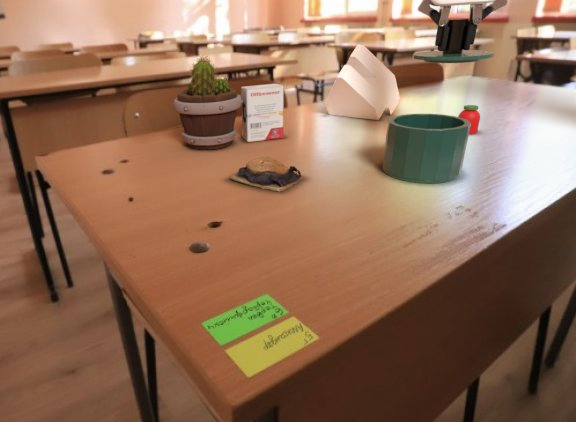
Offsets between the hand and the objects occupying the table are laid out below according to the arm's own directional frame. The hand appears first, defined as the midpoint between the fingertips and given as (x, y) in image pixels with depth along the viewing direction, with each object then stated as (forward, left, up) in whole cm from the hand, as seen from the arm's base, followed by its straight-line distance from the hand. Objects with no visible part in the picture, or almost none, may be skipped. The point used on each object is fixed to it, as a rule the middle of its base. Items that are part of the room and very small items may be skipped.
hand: (453, 49), depth 74 cm
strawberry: (-8, -13, -18) cm, 24 cm away
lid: (0, 0, -1) cm, 1 cm away
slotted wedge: (+14, -29, -18) cm, 37 cm away
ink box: (+35, -6, -18) cm, 40 cm away
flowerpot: (+46, 0, -18) cm, 49 cm away
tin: (+5, +14, -18) cm, 23 cm away
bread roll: (+30, +21, -18) cm, 41 cm away
